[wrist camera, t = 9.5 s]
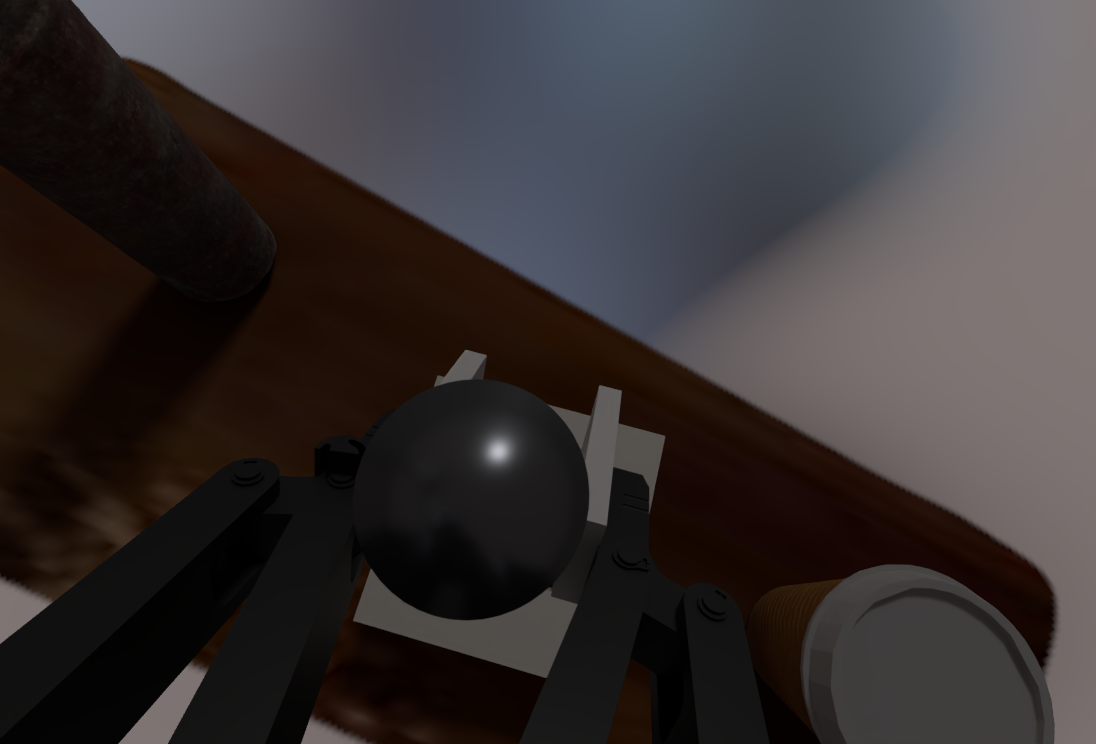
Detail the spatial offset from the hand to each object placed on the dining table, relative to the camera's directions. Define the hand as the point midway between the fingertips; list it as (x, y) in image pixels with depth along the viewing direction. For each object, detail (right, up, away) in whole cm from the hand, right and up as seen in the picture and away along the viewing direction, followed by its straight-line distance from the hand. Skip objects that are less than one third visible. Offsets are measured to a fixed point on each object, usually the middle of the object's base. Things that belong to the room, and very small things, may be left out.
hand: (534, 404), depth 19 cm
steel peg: (-1, -5, +3) cm, 6 cm away
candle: (-22, +9, +20) cm, 32 cm away
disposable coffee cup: (+15, -15, +14) cm, 26 cm away
